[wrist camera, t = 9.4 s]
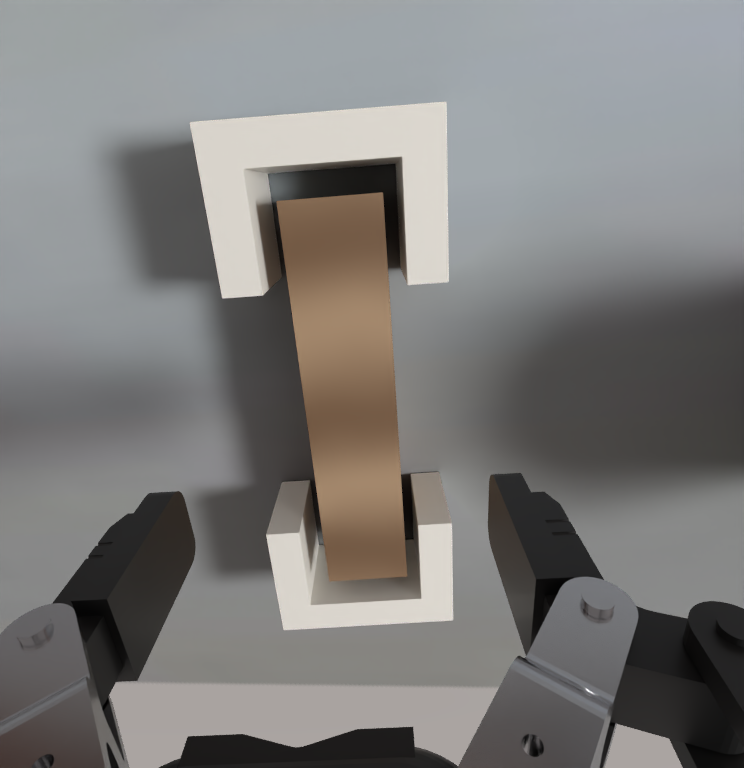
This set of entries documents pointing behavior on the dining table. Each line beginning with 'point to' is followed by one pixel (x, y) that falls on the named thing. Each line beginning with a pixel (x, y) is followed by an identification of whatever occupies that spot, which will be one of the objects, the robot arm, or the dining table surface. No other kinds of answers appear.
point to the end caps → (262, 270)
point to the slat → (347, 377)
